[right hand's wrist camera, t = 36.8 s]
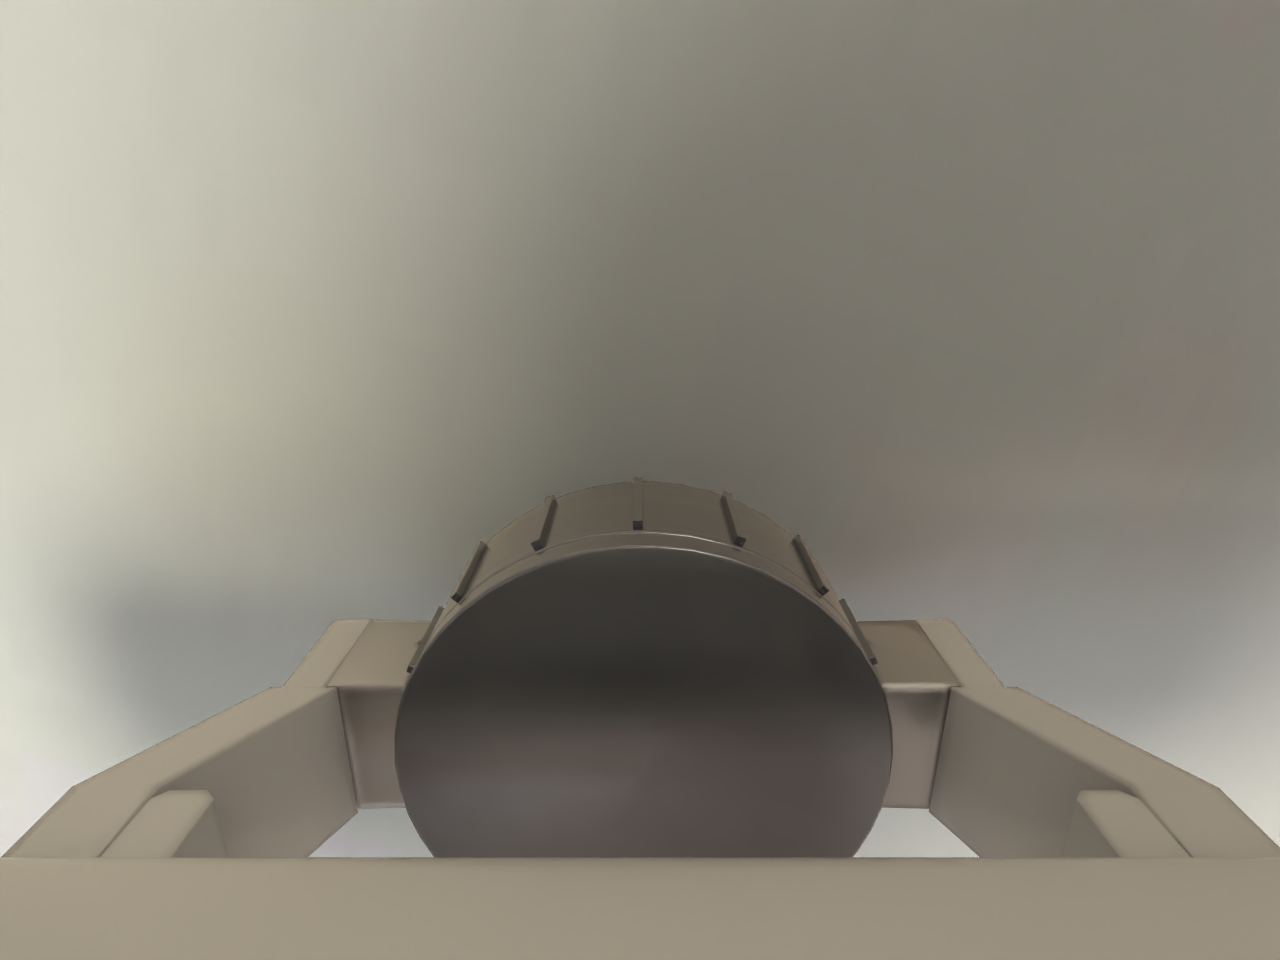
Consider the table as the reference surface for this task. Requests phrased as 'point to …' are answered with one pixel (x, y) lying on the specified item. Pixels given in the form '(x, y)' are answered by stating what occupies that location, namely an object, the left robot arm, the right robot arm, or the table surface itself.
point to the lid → (643, 691)
